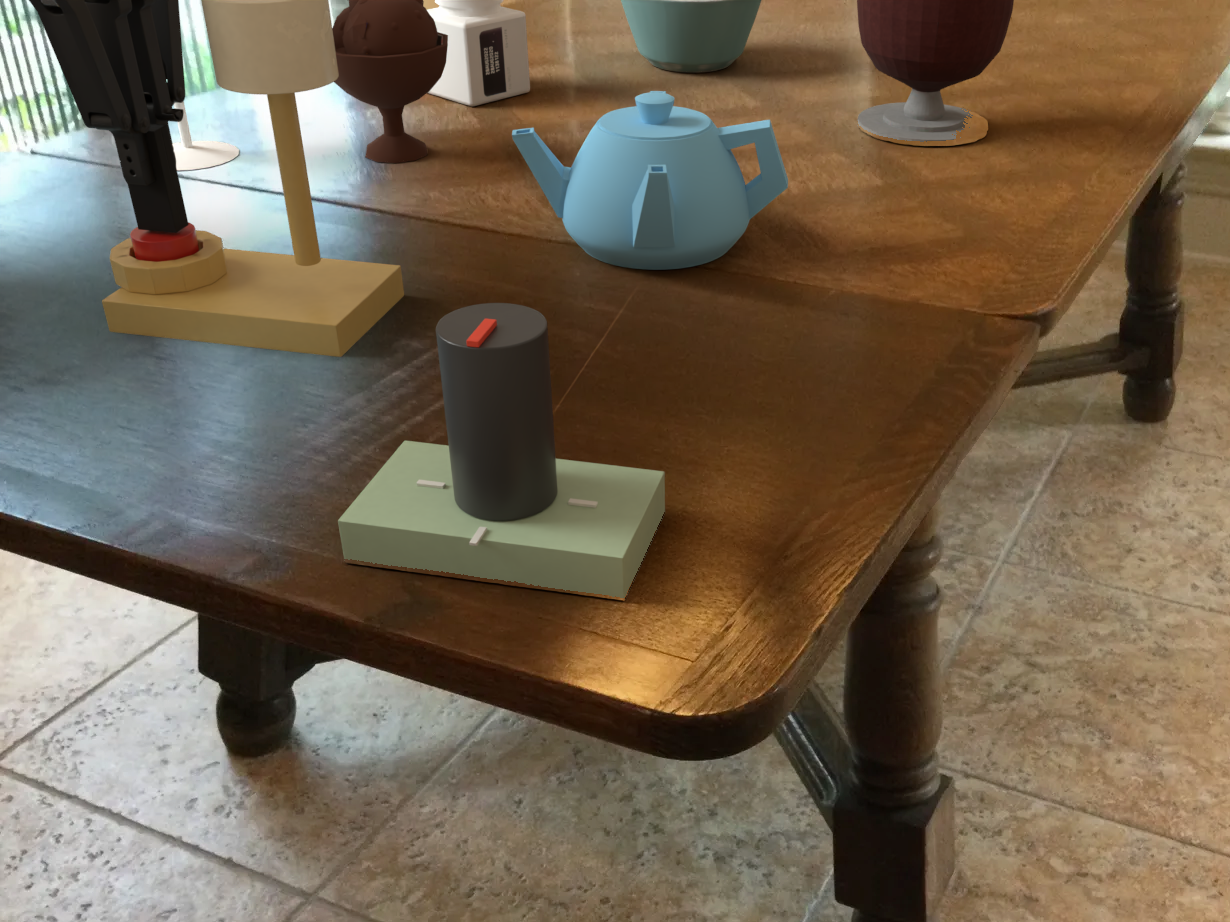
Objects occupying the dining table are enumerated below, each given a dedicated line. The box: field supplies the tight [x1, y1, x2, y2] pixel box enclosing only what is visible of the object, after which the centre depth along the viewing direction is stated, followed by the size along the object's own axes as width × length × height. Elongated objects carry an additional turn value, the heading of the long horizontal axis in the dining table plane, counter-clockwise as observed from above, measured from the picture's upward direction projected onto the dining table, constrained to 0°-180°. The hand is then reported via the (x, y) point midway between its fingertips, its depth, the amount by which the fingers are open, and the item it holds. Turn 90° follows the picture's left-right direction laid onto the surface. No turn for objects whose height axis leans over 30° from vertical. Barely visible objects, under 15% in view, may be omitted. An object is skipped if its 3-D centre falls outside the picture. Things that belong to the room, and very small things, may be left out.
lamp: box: [200, 0, 339, 266], centre depth 82 cm, size 7×7×16 cm
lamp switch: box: [129, 221, 200, 262], centre depth 88 cm, size 4×4×2 cm
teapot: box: [511, 90, 789, 271], centre depth 98 cm, size 15×15×11 cm
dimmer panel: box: [337, 440, 666, 598], centre depth 66 cm, size 14×9×3 cm, turn 78°
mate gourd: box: [856, 0, 1015, 142], centre depth 121 cm, size 16×14×20 cm
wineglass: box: [172, 100, 240, 171], centre depth 111 cm, size 9×10×22 cm
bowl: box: [620, 0, 762, 74], centre depth 143 cm, size 16×16×8 cm
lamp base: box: [101, 229, 405, 358], centre depth 88 cm, size 18×10×4 cm, turn 78°
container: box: [426, 0, 531, 107], centre depth 131 cm, size 8×8×13 cm
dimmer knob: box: [435, 302, 558, 521], centre depth 63 cm, size 5×5×9 cm
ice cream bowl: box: [332, 0, 448, 164], centre depth 114 cm, size 11×11×15 cm
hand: (163, 226), depth 87 cm, fingers closed
